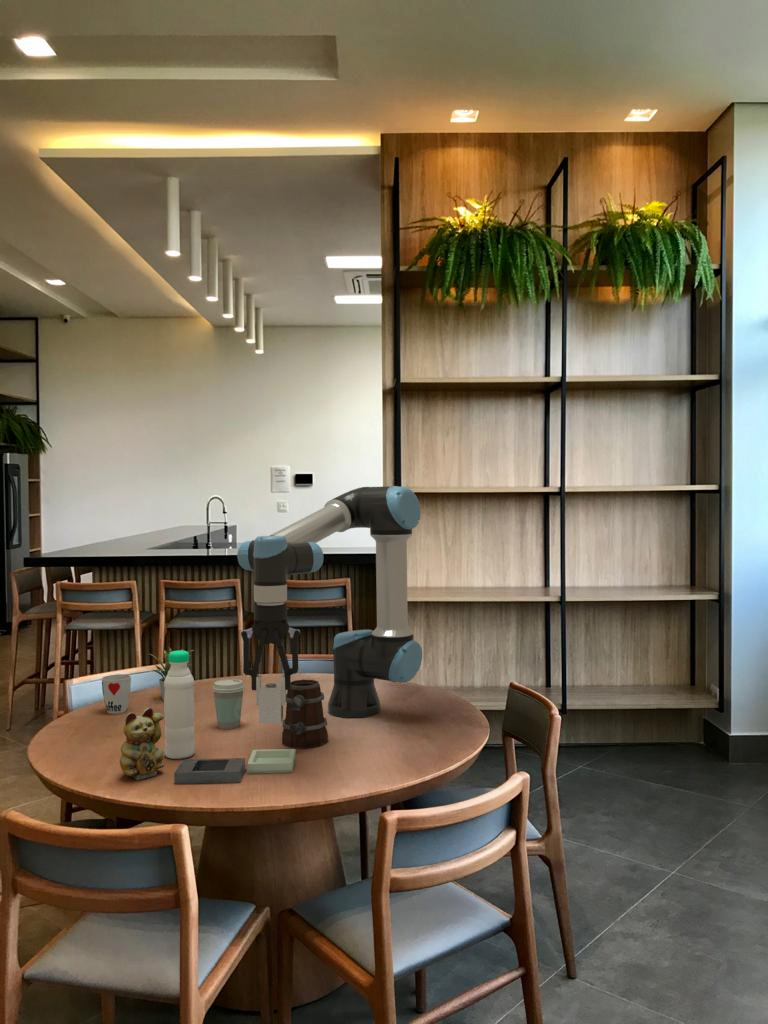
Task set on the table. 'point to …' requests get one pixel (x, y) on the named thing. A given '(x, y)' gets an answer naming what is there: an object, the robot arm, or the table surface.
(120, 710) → the cup
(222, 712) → the coffee cup
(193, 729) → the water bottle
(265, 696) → the block
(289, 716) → the mug
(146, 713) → the decorative figurine
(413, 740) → the table surface
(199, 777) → the grey rectangular frame
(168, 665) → the house plant
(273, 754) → the parts tray
